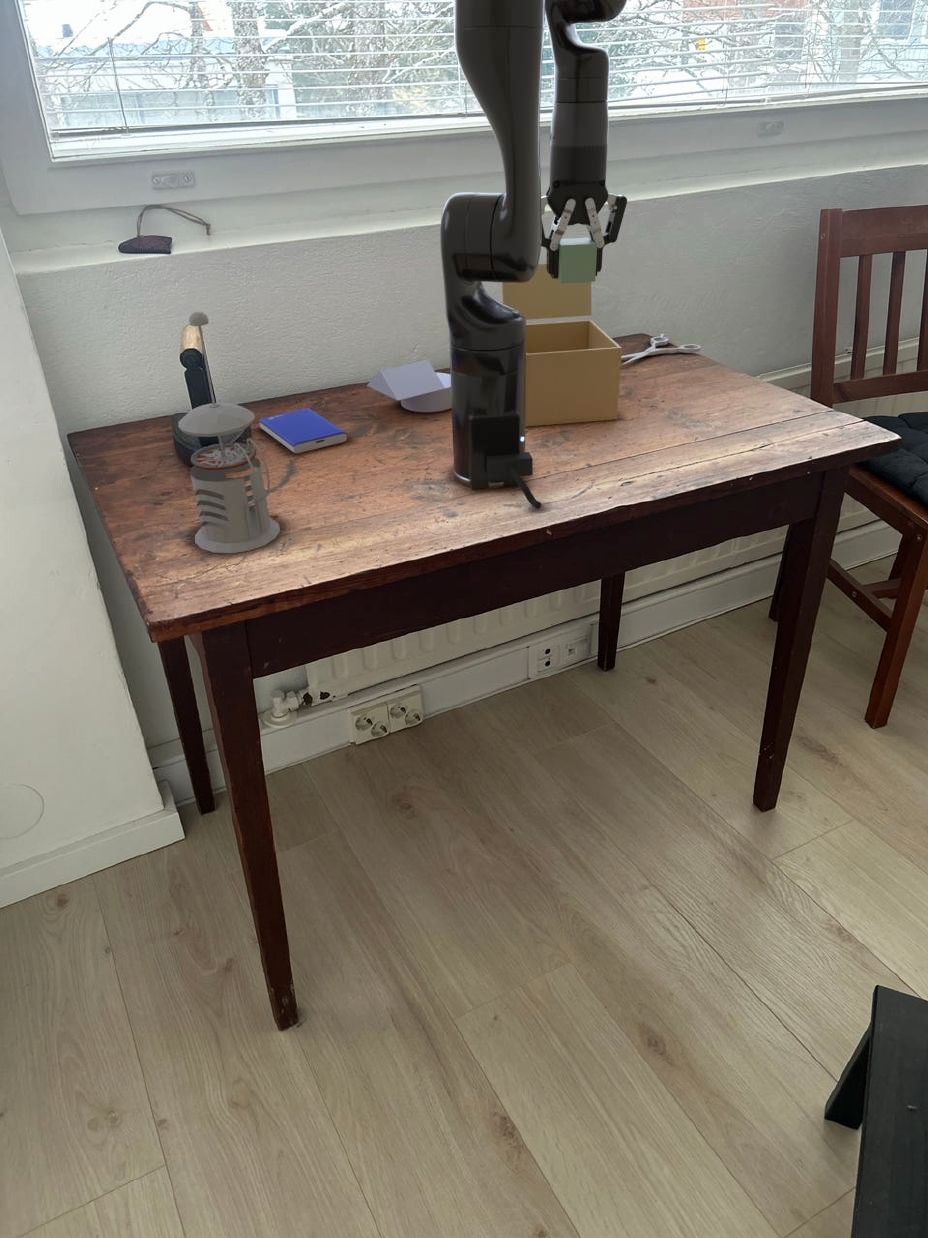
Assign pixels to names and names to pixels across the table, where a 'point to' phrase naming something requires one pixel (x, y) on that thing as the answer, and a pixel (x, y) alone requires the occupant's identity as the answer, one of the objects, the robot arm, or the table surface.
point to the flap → (547, 297)
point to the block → (577, 260)
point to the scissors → (663, 341)
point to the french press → (222, 497)
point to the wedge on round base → (415, 386)
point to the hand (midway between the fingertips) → (573, 275)
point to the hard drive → (302, 430)
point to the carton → (571, 373)
